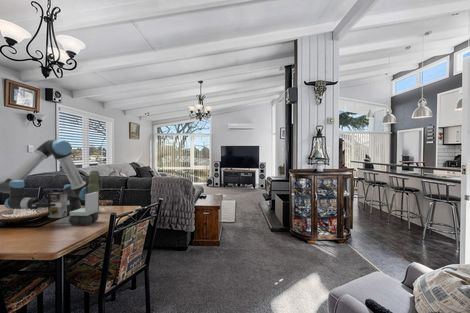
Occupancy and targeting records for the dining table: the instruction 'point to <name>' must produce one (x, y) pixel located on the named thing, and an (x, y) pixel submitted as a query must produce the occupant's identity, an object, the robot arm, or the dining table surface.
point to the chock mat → (64, 221)
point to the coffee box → (57, 211)
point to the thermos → (94, 184)
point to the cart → (86, 211)
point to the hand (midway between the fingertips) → (65, 203)
